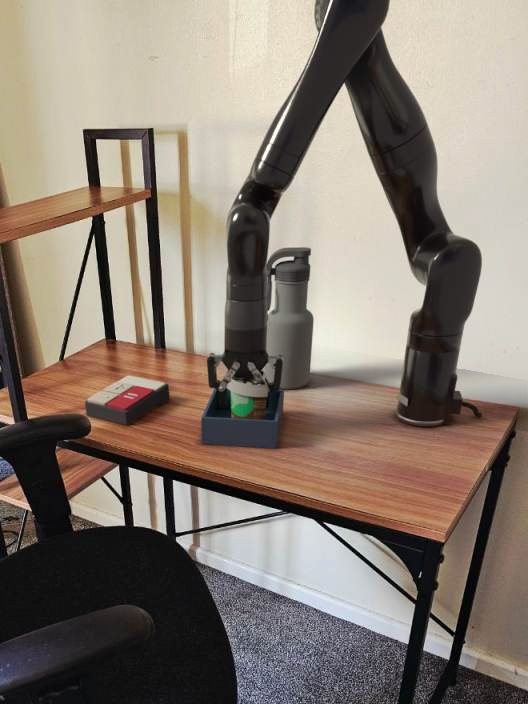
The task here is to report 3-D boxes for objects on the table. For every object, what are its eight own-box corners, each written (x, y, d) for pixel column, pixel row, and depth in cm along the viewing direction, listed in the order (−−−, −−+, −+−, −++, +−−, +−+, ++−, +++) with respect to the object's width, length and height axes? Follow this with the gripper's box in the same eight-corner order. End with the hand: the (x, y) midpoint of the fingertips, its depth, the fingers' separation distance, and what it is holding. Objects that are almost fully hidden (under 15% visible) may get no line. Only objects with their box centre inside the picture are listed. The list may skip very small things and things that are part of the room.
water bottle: (259, 389, 153) (264, 254, 138) (264, 373, 161) (268, 244, 146) (308, 391, 150) (317, 254, 136) (310, 375, 158) (319, 244, 144)
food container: (219, 413, 141) (220, 365, 135) (249, 411, 141) (251, 362, 136) (232, 440, 130) (233, 388, 125) (265, 437, 131) (268, 385, 125)
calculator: (83, 398, 144) (127, 372, 154) (85, 417, 146) (129, 390, 156) (125, 408, 138) (169, 380, 148) (128, 428, 140) (170, 399, 150)
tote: (282, 415, 141) (284, 389, 138) (276, 448, 128) (277, 421, 125) (214, 411, 144) (214, 387, 141) (201, 444, 131) (201, 417, 129)
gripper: (202, 327, 124) (203, 415, 132) (285, 329, 120) (280, 419, 129) (209, 315, 130) (209, 400, 139) (288, 316, 127) (284, 403, 135)
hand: (244, 409), depth 134 cm, fingers closed on food container, 6 cm apart
